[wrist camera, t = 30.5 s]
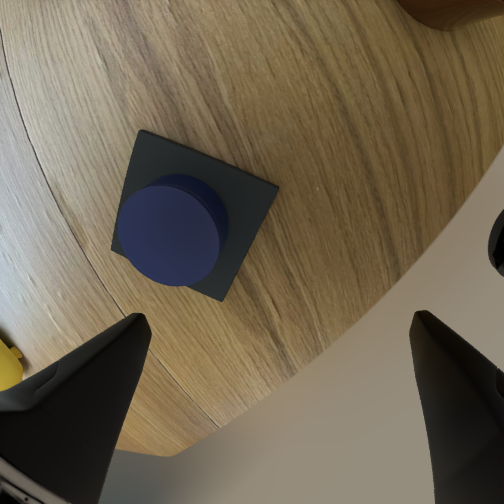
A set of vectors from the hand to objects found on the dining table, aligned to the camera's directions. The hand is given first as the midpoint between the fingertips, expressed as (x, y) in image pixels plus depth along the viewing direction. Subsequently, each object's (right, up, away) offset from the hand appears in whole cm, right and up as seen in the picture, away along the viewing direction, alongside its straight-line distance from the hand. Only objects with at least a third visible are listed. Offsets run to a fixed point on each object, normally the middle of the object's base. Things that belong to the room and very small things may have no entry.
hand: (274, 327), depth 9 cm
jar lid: (-6, +3, +9) cm, 11 cm away
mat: (-5, +5, +11) cm, 14 cm away
